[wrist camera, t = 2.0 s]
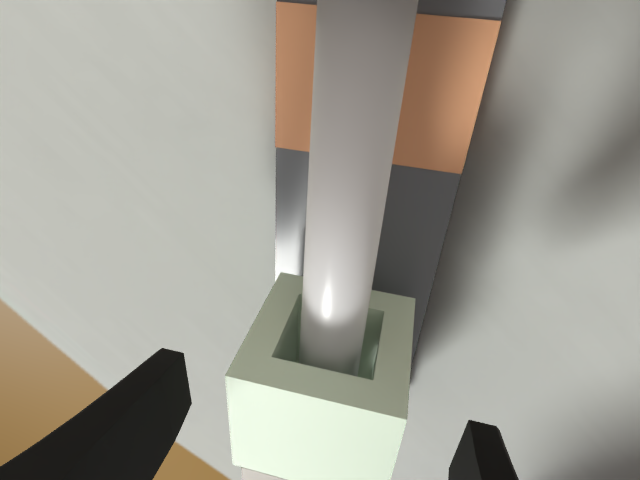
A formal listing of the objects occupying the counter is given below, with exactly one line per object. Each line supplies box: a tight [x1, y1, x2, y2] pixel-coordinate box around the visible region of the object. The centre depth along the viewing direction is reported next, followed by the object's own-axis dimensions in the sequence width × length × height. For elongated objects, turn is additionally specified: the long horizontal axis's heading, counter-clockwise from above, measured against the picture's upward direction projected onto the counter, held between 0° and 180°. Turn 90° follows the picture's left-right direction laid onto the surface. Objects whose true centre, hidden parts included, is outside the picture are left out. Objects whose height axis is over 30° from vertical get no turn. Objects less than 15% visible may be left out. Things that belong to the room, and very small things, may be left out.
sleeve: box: [225, 272, 415, 480], centre depth 12 cm, size 4×4×4 cm
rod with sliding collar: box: [241, 0, 506, 480], centre depth 11 cm, size 16×5×6 cm, turn 176°
